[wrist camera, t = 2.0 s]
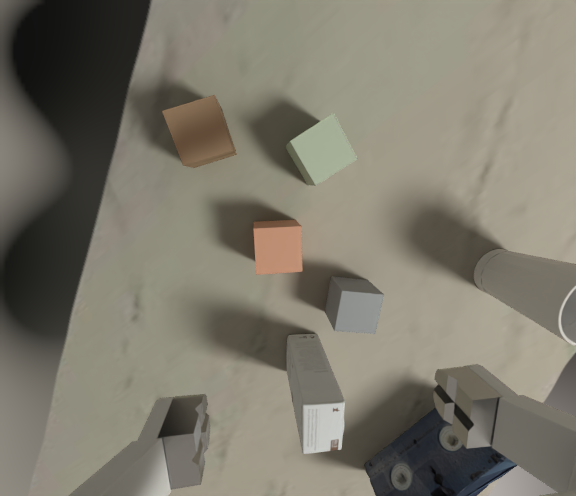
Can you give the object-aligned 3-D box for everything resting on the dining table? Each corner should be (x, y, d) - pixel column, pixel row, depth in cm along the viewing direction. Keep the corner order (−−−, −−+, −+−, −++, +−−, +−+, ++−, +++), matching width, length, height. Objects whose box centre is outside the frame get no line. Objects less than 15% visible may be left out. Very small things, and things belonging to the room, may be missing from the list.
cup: (522, 290, 40) (630, 336, 28) (469, 304, 40) (556, 355, 28) (522, 237, 38) (638, 262, 26) (466, 250, 38) (559, 281, 26)
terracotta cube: (254, 221, 34) (253, 228, 29) (295, 219, 34) (301, 226, 30) (256, 261, 35) (256, 274, 30) (296, 259, 36) (302, 271, 31)
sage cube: (285, 146, 32) (289, 141, 27) (322, 122, 32) (333, 112, 27) (307, 184, 34) (315, 185, 29) (343, 161, 33) (357, 158, 29)
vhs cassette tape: (372, 472, 45) (402, 551, 36) (361, 462, 45) (389, 540, 35) (464, 403, 44) (522, 466, 34) (454, 391, 43) (511, 452, 34)
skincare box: (286, 334, 38) (299, 403, 26) (319, 332, 38) (346, 399, 26) (286, 374, 39) (298, 456, 28) (318, 371, 40) (343, 452, 28)
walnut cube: (177, 121, 31) (161, 110, 26) (221, 108, 31) (214, 94, 26) (194, 167, 32) (183, 165, 27) (236, 154, 32) (233, 149, 27)
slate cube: (331, 276, 37) (342, 290, 32) (367, 279, 37) (383, 294, 32) (324, 311, 38) (334, 330, 33) (360, 314, 38) (375, 333, 33)
